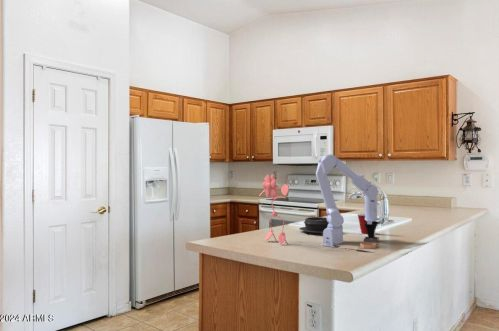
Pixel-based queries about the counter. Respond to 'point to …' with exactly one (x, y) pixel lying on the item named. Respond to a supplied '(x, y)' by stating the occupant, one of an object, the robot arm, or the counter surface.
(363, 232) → the plastic cup
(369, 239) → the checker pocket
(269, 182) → the figurine
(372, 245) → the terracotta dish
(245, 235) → the counter surface
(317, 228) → the casserole
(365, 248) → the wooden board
